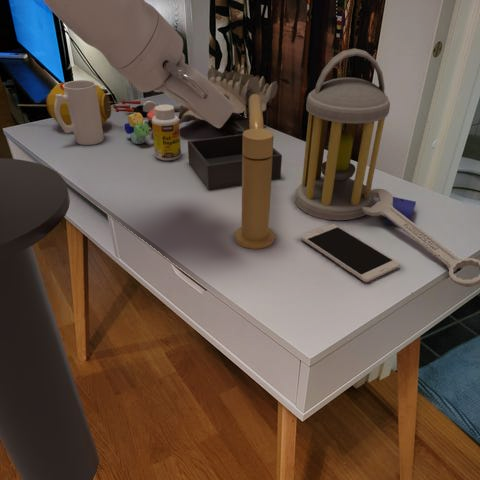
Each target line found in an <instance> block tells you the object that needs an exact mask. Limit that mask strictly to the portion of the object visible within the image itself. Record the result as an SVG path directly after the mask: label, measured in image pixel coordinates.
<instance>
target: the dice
mask: <svg viewBox="0 0 480 480" xmlns="http://www.w3.org/2000/svg"><path fill="white" fill-rule="evenodd" d="M143 120H144V118H143V117H142V115H141V114H140V113H136V112H133V113H130V114H128V116H127V122H126V123H125V124H123V125H124V126H123V127H124V131H125V133H126V134H127V135H130V140H131V142H132V143H133V144H135V145H141V144H144V143H145V142H146V141H147V137H146V136H148V135H150V130H149V127H148V125H147V124H146V123H145V124H143Z"/></svg>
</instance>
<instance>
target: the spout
mask: <svg viewBox="0 0 480 480" xmlns="http://www.w3.org/2000/svg"><path fill="white" fill-rule="evenodd" d="M247 120H248V121H249V125H250V129H248V130H246V131H244V132H243V144H242V153H243V155H244V156H246V157H248V158H252V159H264V158H268V157H270V156H272V154H273V148H274V136H275V135H274V132H273V131H272V130H269V129H266V128H265V127H264V126H265V125H264V115H263V111H262V101H261V98H260V96H259V95H258V94H252V95H251V96H250V98H249V100H248V105H247Z"/></svg>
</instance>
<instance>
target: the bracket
mask: <svg viewBox="0 0 480 480" xmlns="http://www.w3.org/2000/svg"><path fill="white" fill-rule="evenodd" d="M392 197H393V208H395V209H396V210H397V211H399V212H400V213H401V214H402V215H404V216H405V217H406V218H408V219H409V220H410V221H412V218H413V213H414V212H415V211H414V210H415V208H416V203H417V201H414V200H410V199H405V198H400V197H396V196H392ZM383 217H384V218H385V219H384V220H385V222H386V223H387V224H390V225H393V226H397V225H396V224H394V223H393V222H392V221H391V220H389V219H388V218H387V217H386V216H382V218H383Z"/></svg>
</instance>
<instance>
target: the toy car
mask: <svg viewBox="0 0 480 480" xmlns="http://www.w3.org/2000/svg"><path fill="white" fill-rule="evenodd" d="M213 128H214V130H215V131H216V132H218V131H219V132H223V133H225V136H231V135H239V134H243V132H244V131H246V130H248V129H250V125H249V119H247V118H245V117H243V116H232V115H231V116H230V117H229V118H228V120H227V121H226V122H225V124H224V125H223V126H222V127H221V128H216V127H215V126H213Z"/></svg>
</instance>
